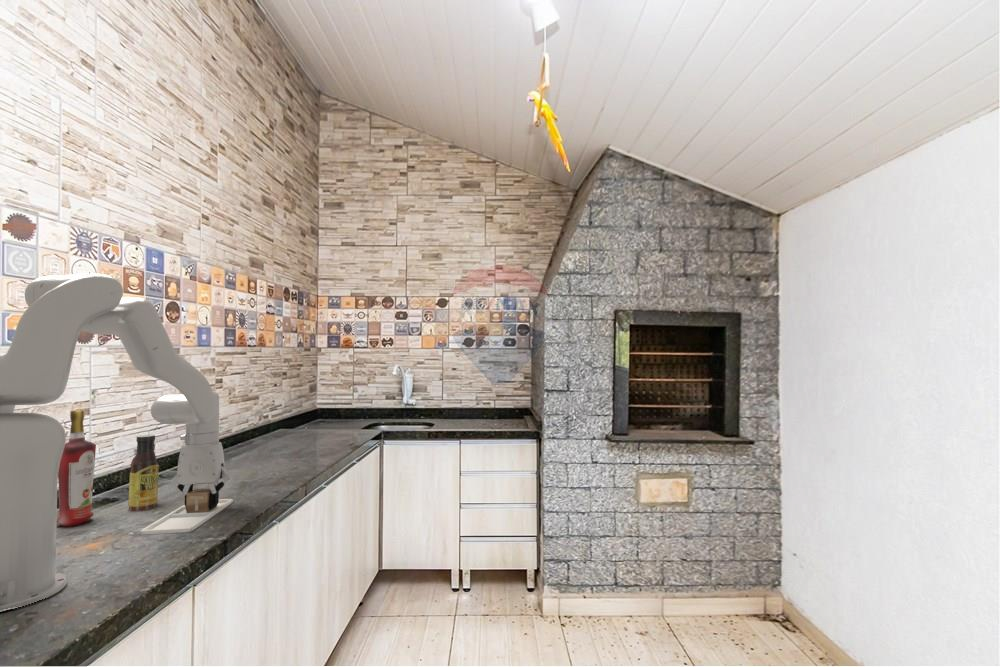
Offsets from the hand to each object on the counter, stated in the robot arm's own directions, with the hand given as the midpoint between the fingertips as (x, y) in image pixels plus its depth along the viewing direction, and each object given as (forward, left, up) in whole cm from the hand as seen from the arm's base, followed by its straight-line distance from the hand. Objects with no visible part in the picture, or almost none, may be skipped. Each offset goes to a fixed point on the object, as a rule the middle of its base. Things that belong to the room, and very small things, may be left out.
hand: (201, 507), depth 124 cm
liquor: (-3, +28, -2) cm, 28 cm away
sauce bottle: (+5, +17, -2) cm, 18 cm away
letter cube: (0, 0, -1) cm, 1 cm away
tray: (-5, 0, -1) cm, 5 cm away
